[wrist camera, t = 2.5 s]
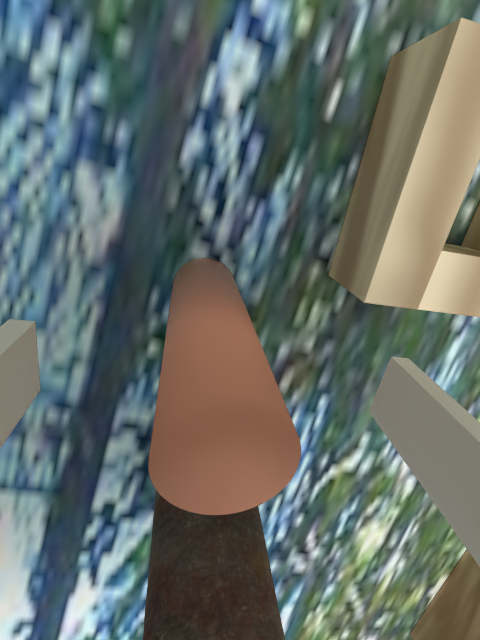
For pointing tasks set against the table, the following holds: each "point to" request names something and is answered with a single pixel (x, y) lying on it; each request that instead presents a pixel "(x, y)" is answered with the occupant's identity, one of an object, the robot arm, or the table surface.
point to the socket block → (418, 182)
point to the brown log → (209, 577)
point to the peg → (217, 402)
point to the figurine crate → (454, 606)
